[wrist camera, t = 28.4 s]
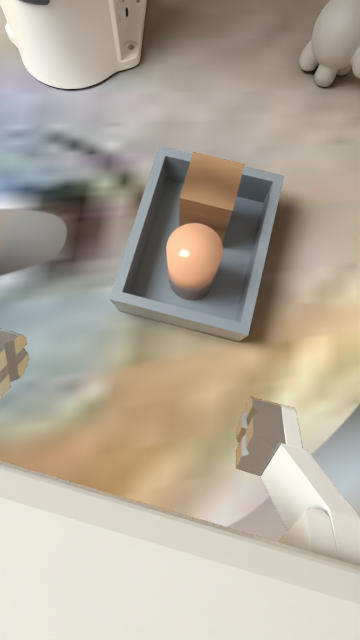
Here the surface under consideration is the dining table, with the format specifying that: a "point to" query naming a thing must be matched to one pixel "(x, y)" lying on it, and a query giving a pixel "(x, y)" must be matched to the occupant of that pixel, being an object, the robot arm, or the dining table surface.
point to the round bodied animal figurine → (334, 42)
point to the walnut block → (210, 192)
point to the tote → (235, 266)
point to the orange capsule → (193, 260)
